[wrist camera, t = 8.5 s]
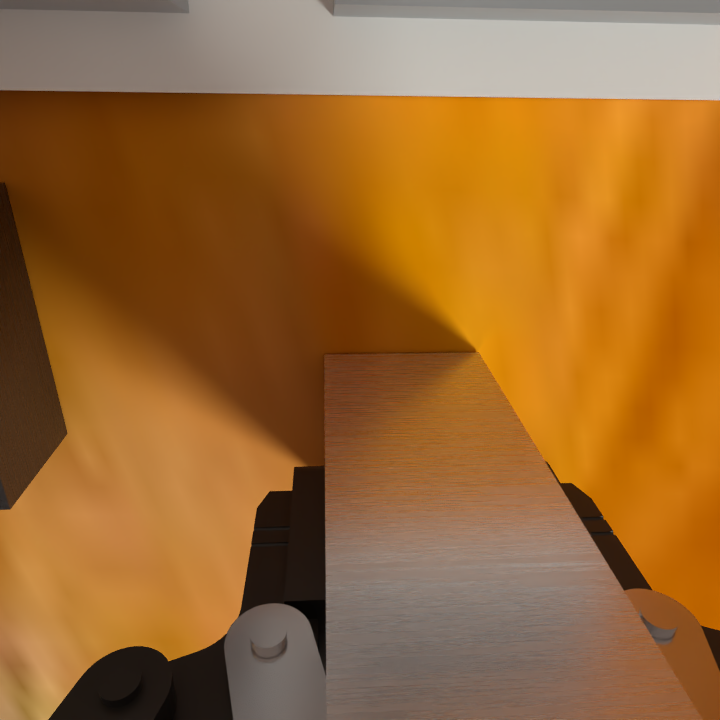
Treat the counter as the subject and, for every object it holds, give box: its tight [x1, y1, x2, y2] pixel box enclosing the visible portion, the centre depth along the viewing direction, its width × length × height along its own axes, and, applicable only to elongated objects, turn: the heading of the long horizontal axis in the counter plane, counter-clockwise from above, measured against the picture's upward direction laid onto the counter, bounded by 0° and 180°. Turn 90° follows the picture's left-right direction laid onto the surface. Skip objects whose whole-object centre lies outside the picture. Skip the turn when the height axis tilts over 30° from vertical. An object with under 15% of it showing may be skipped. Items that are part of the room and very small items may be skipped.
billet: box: [324, 352, 702, 720], centre depth 11 cm, size 4×4×10 cm
